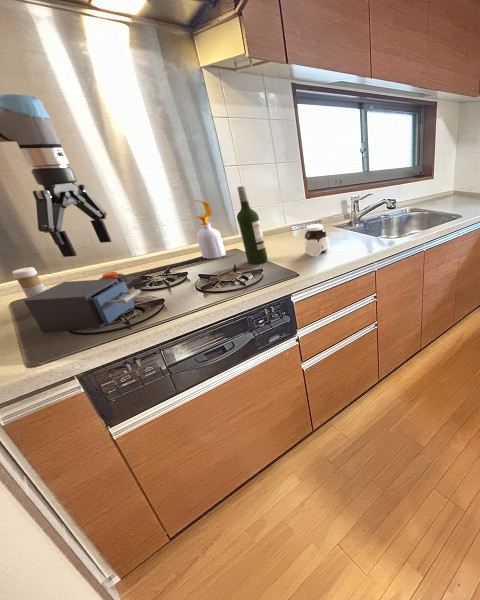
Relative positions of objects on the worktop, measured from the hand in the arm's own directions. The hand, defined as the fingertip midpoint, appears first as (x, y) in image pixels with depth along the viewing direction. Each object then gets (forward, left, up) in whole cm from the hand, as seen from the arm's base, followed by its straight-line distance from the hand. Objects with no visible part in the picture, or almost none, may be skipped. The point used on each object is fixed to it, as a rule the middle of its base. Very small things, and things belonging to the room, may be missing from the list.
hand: (89, 248), depth 91 cm
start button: (-12, +18, -15) cm, 27 cm away
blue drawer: (+1, -6, -18) cm, 19 cm away
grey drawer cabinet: (-4, -6, -19) cm, 20 cm away
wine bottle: (+31, +39, -19) cm, 54 cm away
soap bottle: (+9, +50, -19) cm, 55 cm away
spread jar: (+55, +46, -19) cm, 74 cm away
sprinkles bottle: (-22, +2, -19) cm, 29 cm away
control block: (-12, +18, -19) cm, 29 cm away
